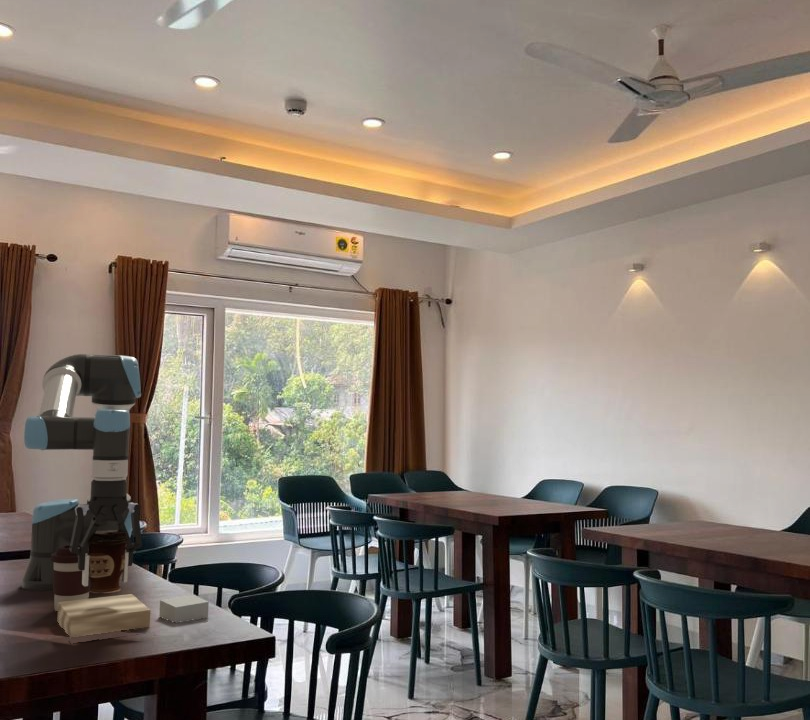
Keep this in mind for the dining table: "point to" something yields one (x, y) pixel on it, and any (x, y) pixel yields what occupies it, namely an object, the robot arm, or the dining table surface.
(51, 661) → the dining table surface
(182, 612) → the grey block
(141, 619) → the beech block
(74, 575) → the coffee cup
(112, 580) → the coffee cup
